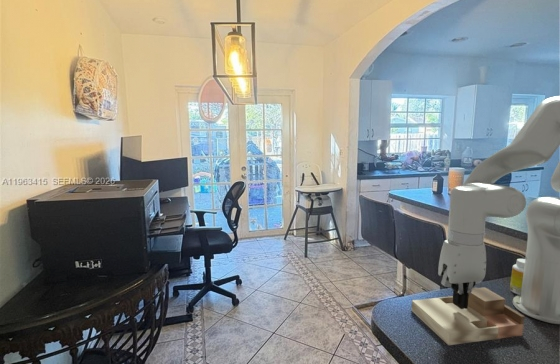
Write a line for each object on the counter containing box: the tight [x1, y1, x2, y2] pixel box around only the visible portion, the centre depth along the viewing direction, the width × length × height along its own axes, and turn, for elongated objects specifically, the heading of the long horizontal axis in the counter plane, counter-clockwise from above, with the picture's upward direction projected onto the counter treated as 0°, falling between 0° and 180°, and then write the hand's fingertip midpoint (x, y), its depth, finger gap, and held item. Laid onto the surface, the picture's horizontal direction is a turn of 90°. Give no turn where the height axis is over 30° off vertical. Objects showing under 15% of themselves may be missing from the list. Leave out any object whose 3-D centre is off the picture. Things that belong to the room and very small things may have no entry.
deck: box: [411, 286, 525, 346], centre depth 76 cm, size 20×14×5 cm
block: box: [468, 287, 506, 316], centre depth 77 cm, size 6×6×4 cm
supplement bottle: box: [509, 258, 525, 296], centre depth 90 cm, size 6×6×10 cm
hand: (459, 305), depth 75 cm, fingers closed
